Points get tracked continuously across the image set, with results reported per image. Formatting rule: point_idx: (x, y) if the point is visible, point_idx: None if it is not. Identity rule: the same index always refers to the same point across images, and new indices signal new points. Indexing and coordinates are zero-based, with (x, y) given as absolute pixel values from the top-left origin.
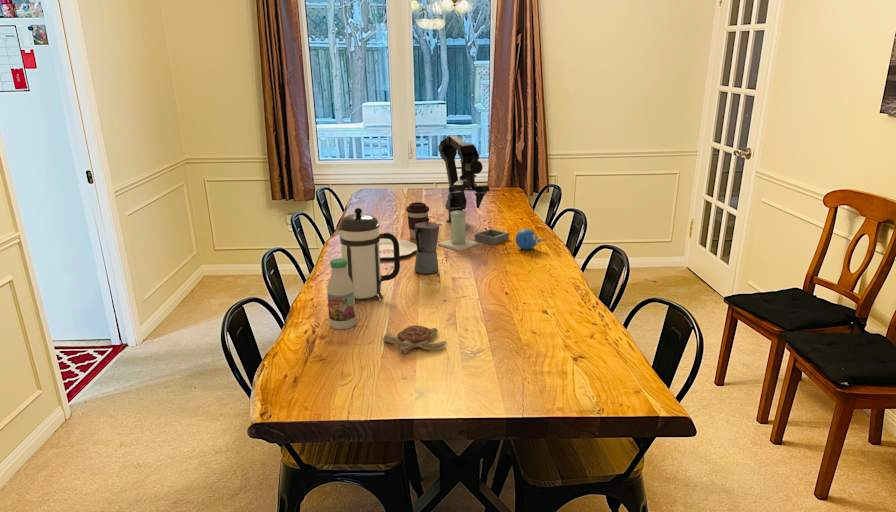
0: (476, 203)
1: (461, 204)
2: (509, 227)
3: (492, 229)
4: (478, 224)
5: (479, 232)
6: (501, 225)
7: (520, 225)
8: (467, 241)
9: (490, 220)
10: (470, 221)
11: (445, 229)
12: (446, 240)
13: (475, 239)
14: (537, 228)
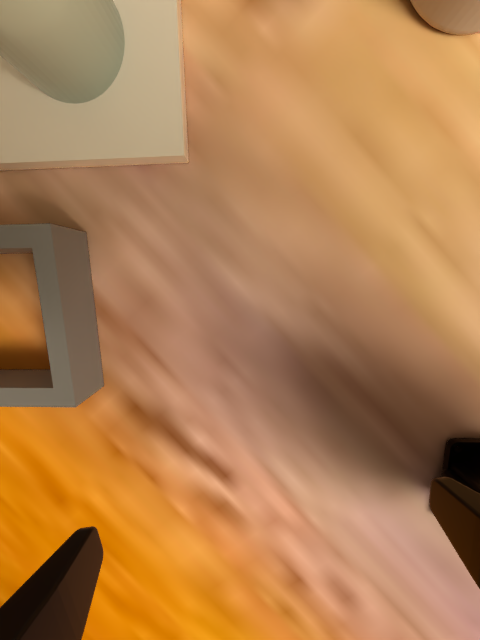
0: (12, 636)
1: (478, 545)
2: (139, 568)
3: (46, 399)
4: (319, 517)
5: (49, 272)
6: (200, 574)
7: (125, 626)
8: (44, 116)
9: (319, 616)
10: (406, 538)
11: (425, 292)
12: (174, 5)
13: (78, 231)
14: None
